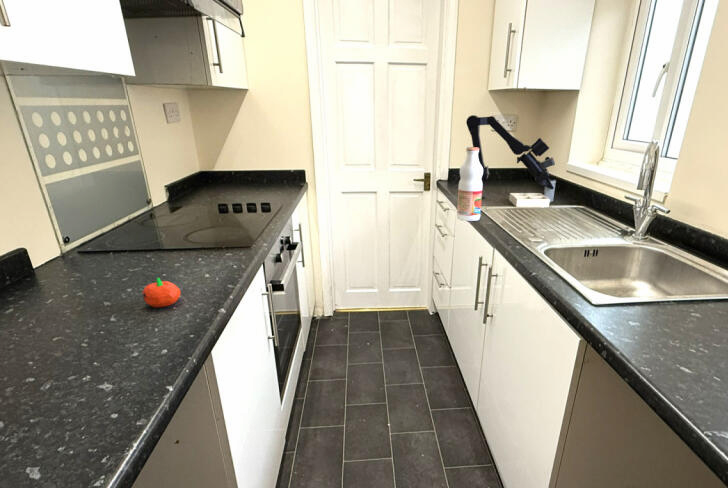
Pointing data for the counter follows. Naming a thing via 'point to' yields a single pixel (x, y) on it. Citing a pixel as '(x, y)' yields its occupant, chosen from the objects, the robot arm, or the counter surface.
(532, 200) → the grid
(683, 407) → the counter surface
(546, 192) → the grey cylinder
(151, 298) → the pumpkin
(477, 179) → the fruit juice
